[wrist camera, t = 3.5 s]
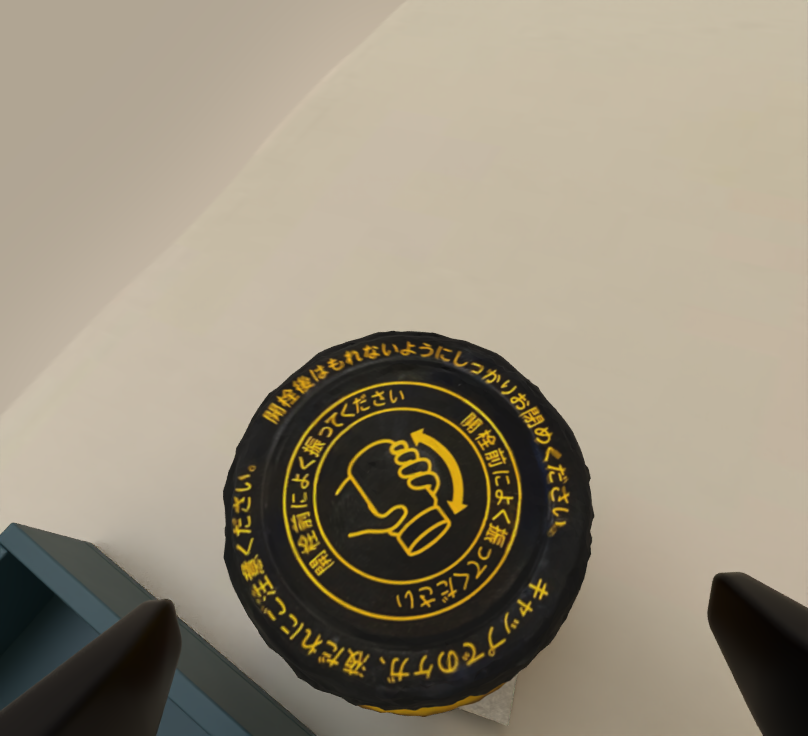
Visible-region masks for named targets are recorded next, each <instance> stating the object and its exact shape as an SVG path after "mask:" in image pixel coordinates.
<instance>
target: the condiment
mask: <svg viewBox="0 0 808 736" xmlns="http://www.w3.org/2000/svg"><path fill="white" fill-rule="evenodd" d="M590 479H591V478H590V474H589V469H588V467H587V466H586V465H585V461H584V458H583V455H582V452H581V449H580V447H579V445H578V442H577V440H576V438H575V436H574V433H573V431H572V430H571V428H570V427H569V426H568V424H567V423H566V421H565V420H564V419H563V418H562V416H561V415H560V414H559V413H558V412H557V410H556V409H555V408H554V407H553V406H552V405H551V404H550V403H549V401H548V400H547V399H546V398H545V397H544V395H543V394H542V393H541V391H540V390H539V388H538V387H537V386H536V385H534V384H532V383H531V381H530V380H529V379H527V378H525V377H524V376H523V375H522V374H521V373H520V372H518V371H517V370H516V369H515V368H514V367H513V366H512V365H511V364H510V363H509V362H507V361H506V360H505V359H504V358H503V357H501V356H500V355H498V354H497V353H495V352H492V351H490V350H487V349H484V348H482V347H479V346H477V345H474V344H472V343H469V342H467V341H464V340H457V339H452V338H449V337H446V336H443V335H440V334H436V333H428V332H414V331H406V332H397V331H389V332H378V333H374V334H371V335H368V336H365V337H363V338H360V339H356V340H352V341H348V342H346V343H343V344H340V345H337V346H333V347H331V348H328V349H326V350H324V351H322V352H320V353H318V354H317V355H315V356H314V357H313V358H312V359H311V360H310V361H308V362H307V363H306V364H305V365H304V366H303V367H301V368H300V369H299V370H297V371H296V372H295V373H293V374H292V375H291V376H290V377H289V378H288V379H287V380H286V381H285V382H283V383H282V384H281V385H280V386H279V387H278V388H277V389H275V390H274V391H272V392H270V393H269V394H268V396H267V397H266V398H265V400H264V401H263V402H262V404H261V405H260V407H259V408H258V410H257V411H256V413H255V414H254V416H253V418H252V419H251V421H250V424H249V426H248V428H247V430H246V432H245V434H244V436H243V438H242V439H241V441H240V443H239V445H238V446H237V448H236V455H235V458H234V460H233V463H232V465H231V467H230V470H229V472H228V476H227V480H226V484H225V487H224V490H223V500H224V505H225V519H226V527H225V537H226V541H225V550H224V560H225V563H226V567H227V570H228V573H229V577H230V580H231V582H232V585H233V587H234V589H235V592H236V594H237V596H238V598H239V599H240V601H241V603H242V605H243V607H244V609H245V611H246V613H247V615H248V617H249V618H250V620H251V621H252V622H253V624H254V625H255V627H256V628H257V630H258V632H259V634H260V635H261V637H262V638H263V640H264V641H265V642H266V644H267V645H268V647H269V648H271V649H272V650H274V651H275V652H276V653H278V654H279V655H280V656H281V657H283V659H284V660H285V661H286V662H287V663H288V665H289V666H290V667H291V668H292V669H293V671H294V672H295V674H296V675H297V677H298V678H300V679H302V680H304V681H305V682H307V683H308V684H310V685H311V686H312V687H314V688H315V689H317V690H320V691H323V692H327V693H331V694H333V695H336V696H339V697H341V698H343V699H345V700H346V701H347V702H349V703H351V704H353V705H355V706H360V707H362V708H365V709H370V710H374V711H377V712H380V713H386V712H388V713H393V714H398V715H404V716H422V717H426V716H429V715H433V714H438V713H443V712H447V711H451V710H453V709H455V708H459V709H462V710H465V711H468V712H470V713H473V714H476V715H479V716H481V717H484V718H487V719H490V720H493V721H496V722H498V723H501V724H504V725H507V726H508V725H509V720H510V714H511V709H512V703H513V697H514V691H515V685H516V679H517V674H518V673H519V672H520V671H521V670H522V669H524V668H526V667H527V666H528V665H529V663H530V662H531V661H532V660H533V659H534V658H535V657H536V656H537V654H538V653H539V652H540V651H541V650H543V649H544V648H545V647H546V646H548V645H549V644H550V643H551V641H552V640H553V639H554V637H555V636H556V634H557V632H558V631H559V629H560V627H561V625H562V624H563V623H564V621H565V620H566V619H567V616H568V613H569V611H570V609H571V608H572V605H573V603H574V601H575V599H576V597H577V595H578V593H579V590H580V588H581V585H582V582H583V580H584V577H585V573H586V569H587V562H588V560H589V558H590V555H591V547H590V545H591V543H592V537H591V533H590V529H591V525H592V521H593V518H594V512H593V507H592V499H591V490H590V486H589V481H590Z"/></svg>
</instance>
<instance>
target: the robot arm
mask: <svg viewBox="0 0 808 736" xmlns="http://www.w3.org/2000/svg"><path fill="white" fill-rule="evenodd" d="M707 615H708V622H709V625H710V628H711V631H712V633H713V635H714V637H715V639H716V641H717V643H718V645H719V647H720V649H721V651H722V654H723V656H724V658H725V660H726V662H727V664H728V666H729V668H730V670H731V672H732V675H733V677H734V679H735V681H736V683H737V685H738V687H739V689H740V691H741V693H742V695H743V698H744V700H745V702H746V704H747V706H748V708H749V710H750V712H751V714H752V716H753V718H754V720H755V722H756V724H757V726H758V727H759V729H760V731H761V733H762V734H763V736H808V608H807V607H805V606H803V605H801V604H800V603H798V602H796V601H794V600H792V599H790V598H789V597H787V596H785V595H783V594H781V593H780V592H778V591H776V590H774V589H772V588H770V587H769V586H767V585H765V584H763V583H761V582H760V581H758V580H756V579H754V578H752V577H751V576H749V575H747V574H745V573H742V572H728V573H718V574H716V575H715V576H714V578H713V581H712V587H711V593H710V599H709V605H708V612H707ZM181 648H182V636H181V632H180V627H179V623H178V619H177V615H176V611H175V607H174V604H173V603H172V601H171V600H168V599H161V600H148V601H145V602H143V603H142V604H140V605H139V606H137V607H136V608H135V609H133V610H132V611H131V612H130V613H128V614H127V615H126V616H124V617H123V618H122V619H120V620H119V621H118V622H116V623H115V624H114V625H112V626H111V627H110V628H109V629H107V630H106V631H105V632H103V633H102V634H101V635H99V636H98V637H97V638H95V639H94V640H93V641H91V642H90V643H89V644H88V645H86V646H85V647H84V648H82V649H81V650H80V651H78V652H77V653H76V654H74V655H73V656H72V657H70V658H69V659H68V660H66V661H65V662H64V663H63V664H61V665H60V666H59V667H57V668H56V669H55V670H53V671H52V672H51V673H49V674H48V675H47V676H45V677H44V678H43V679H42V680H40V681H39V682H38V683H36V684H35V685H34V686H32V687H31V688H30V689H28V690H27V691H26V692H24V693H23V694H22V695H21V696H19V697H18V698H17V699H15V700H14V701H13V702H11V703H10V704H9V705H7V706H6V707H5V708H3V709H2V710H1V711H0V736H156V735H157V732H158V728H159V725H160V721H161V718H162V715H163V711H164V708H165V704H166V701H167V698H168V694H169V691H170V688H171V684H172V681H173V677H174V674H175V671H176V667H177V664H178V660H179V657H180V653H181Z"/></svg>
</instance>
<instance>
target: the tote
mask: <svg viewBox="0 0 808 736" xmlns="http://www.w3.org/2000/svg"><path fill="white" fill-rule="evenodd" d="M148 600H157V599H156V598H155V597H154V596H153V595H151V594H150V593H149V592H148V591H147V590H146V589H144V588H143V587H142V586H141V585H140V584H139V583H137V582H136V581H135V580H134V579H133V578H132V577H130V576H129V575H128V574H127V573H126V572H124V571H123V570H122V569H121V568H120V567H119V566H117V565H116V564H115V563H114V562H113V561H112V560H110V559H109V558H108V557H107V556H106V555H105V554H103V553H102V552H101V551H100V550H99V549H98V548H96V547H95V546H94V545H93V544H92V543H89V542H86V541H81V540H78V539H74V538H70V537H66V536H62V535H59V534H55V533H51V532H47V531H44V530H40V529H36V528H32V527H28V526H25V525H21V524H17V523H11V524H10V525H9V526H8V527H7V528H6V529H5V530H4V531H3V532H2V533H1V535H0V711H1V710H2V709H3V708H5V707H6V706H7V705H9V704H10V703H11V702H13V701H14V700H15V699H17V698H18V697H19V696H21V695H22V694H23V693H24V692H26V691H27V690H28V689H30V688H31V687H32V686H34V685H35V684H36V683H38V682H39V681H40V680H42V679H43V678H44V677H45V676H47V675H48V674H49V673H51V672H52V671H53V670H55V669H56V668H57V667H59V666H60V665H61V664H63V663H64V662H65V661H66V660H68V659H69V658H70V657H72V656H73V655H74V654H76V653H77V652H78V651H80V650H81V649H82V648H84V647H85V646H86V645H88V644H89V643H90V642H91V641H93V640H94V639H95V638H97V637H98V636H99V635H101V634H102V633H103V632H105V631H106V630H107V629H109V628H110V627H111V626H112V625H114V624H115V623H116V622H118V621H119V620H120V619H122V618H123V617H124V616H126V615H127V614H128V613H130V612H131V611H132V610H133V609H135V608H136V607H137V606H139V605H140V604H142V603H143V602H145V601H148ZM177 619H178V623H179V627H180V632H181V636H182V648H181V653H180V657H179V660H178V664H177V667H176V671H175V674H174V677H173V681H172V684H171V688H170V691H169V694H168V698H167V701H166V704H165V708H164V711H163V715H162V718H161V721H160V725H159V728H158V732H157V735H156V736H316V735H315V734H314V733H313V732H312V731H311V730H309V729H308V728H307V727H306V726H305V725H304V724H302V723H301V722H300V721H299V720H298V719H297V718H295V717H294V716H293V715H292V714H291V713H290V712H288V711H287V710H286V709H285V708H284V707H282V706H281V705H280V704H279V703H278V702H277V701H275V700H274V699H273V698H272V697H271V696H270V695H268V694H267V693H266V692H265V691H264V690H263V689H261V688H260V687H259V686H258V685H257V684H256V683H254V682H253V681H252V680H251V679H250V678H249V677H247V676H246V675H245V674H244V673H243V672H242V671H240V670H239V669H238V668H237V667H236V666H235V665H233V664H232V663H231V662H230V661H229V660H227V659H226V658H225V657H224V656H223V655H222V654H220V653H219V652H218V651H217V650H216V649H215V648H213V647H212V646H211V645H210V644H209V643H208V642H206V641H205V640H204V639H203V638H202V637H201V636H199V635H198V634H197V633H196V632H195V631H194V630H192V629H191V628H190V627H189V626H188V625H187V624H185V623H184V622H183V621H182V620H181V619H180V618H178V617H177Z"/></svg>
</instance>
